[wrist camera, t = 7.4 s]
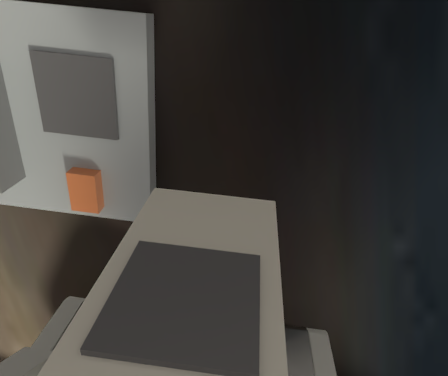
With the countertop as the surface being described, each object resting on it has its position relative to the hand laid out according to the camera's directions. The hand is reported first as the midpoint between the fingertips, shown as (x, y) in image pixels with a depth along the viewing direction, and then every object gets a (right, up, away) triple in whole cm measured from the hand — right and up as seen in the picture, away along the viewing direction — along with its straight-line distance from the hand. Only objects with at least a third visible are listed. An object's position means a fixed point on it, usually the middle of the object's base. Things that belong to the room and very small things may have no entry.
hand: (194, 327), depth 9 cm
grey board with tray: (-13, +9, +14) cm, 21 cm away
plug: (0, +1, +3) cm, 3 cm away
